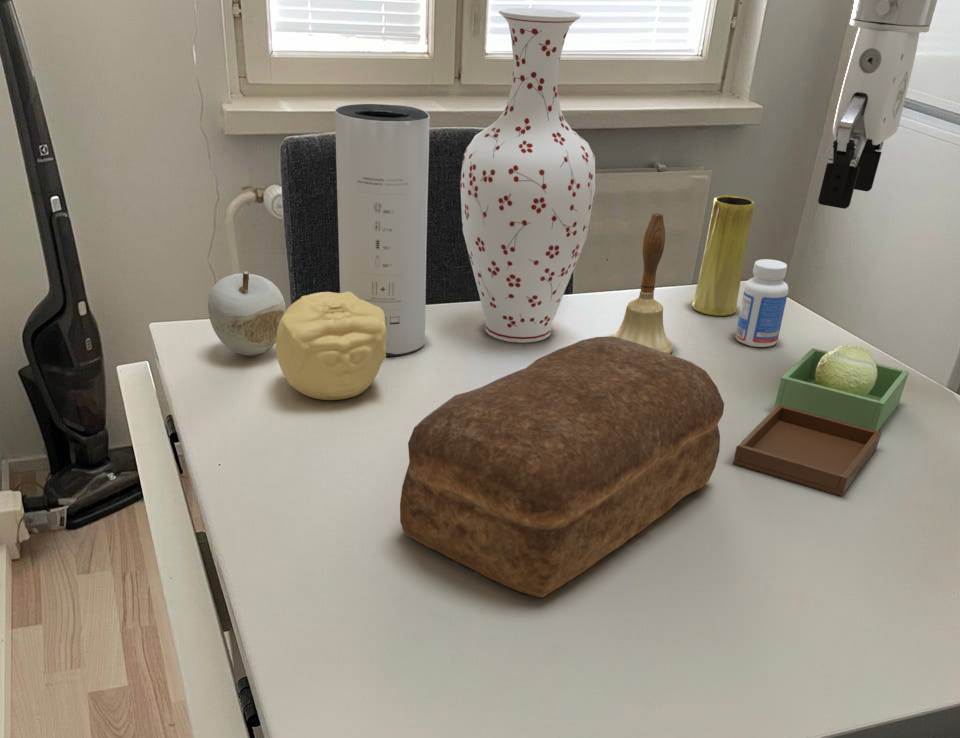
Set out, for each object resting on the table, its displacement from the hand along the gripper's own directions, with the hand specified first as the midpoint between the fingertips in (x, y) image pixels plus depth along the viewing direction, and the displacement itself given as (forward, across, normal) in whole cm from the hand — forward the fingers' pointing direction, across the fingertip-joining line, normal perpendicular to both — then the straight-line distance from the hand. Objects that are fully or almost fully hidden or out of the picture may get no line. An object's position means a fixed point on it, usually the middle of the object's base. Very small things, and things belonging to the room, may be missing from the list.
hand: (844, 197), depth 107 cm
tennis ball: (+20, -6, -6) cm, 22 cm away
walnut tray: (+20, -20, -7) cm, 30 cm away
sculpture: (+21, -36, +43) cm, 60 cm away
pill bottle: (+21, +9, +8) cm, 24 cm away
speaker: (+21, -21, +46) cm, 55 cm away
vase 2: (+21, +17, +17) cm, 32 cm away
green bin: (+20, -6, -6) cm, 22 cm away
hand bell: (+21, -3, +20) cm, 29 cm away
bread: (+21, -45, +9) cm, 50 cm away
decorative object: (+21, -34, +57) cm, 69 cm away
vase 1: (+21, -7, +35) cm, 41 cm away
